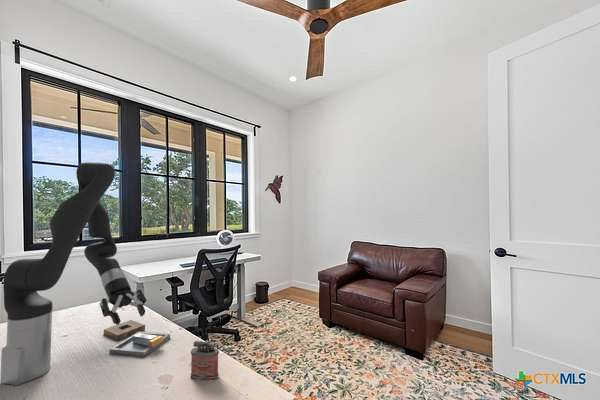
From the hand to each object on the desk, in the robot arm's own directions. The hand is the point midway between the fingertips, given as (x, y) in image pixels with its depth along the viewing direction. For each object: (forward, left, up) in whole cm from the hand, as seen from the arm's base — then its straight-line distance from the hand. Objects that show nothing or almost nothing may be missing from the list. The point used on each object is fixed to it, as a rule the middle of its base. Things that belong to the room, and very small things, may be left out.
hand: (131, 319), depth 97 cm
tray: (-2, -6, -8) cm, 10 cm away
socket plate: (+6, +8, -8) cm, 12 cm away
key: (-1, -3, -6) cm, 7 cm away
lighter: (-15, -37, -8) cm, 41 cm away
